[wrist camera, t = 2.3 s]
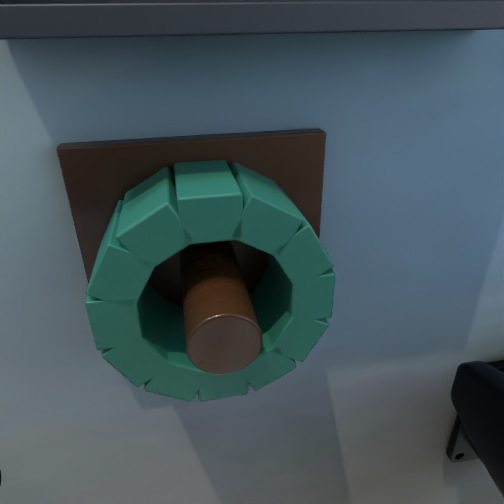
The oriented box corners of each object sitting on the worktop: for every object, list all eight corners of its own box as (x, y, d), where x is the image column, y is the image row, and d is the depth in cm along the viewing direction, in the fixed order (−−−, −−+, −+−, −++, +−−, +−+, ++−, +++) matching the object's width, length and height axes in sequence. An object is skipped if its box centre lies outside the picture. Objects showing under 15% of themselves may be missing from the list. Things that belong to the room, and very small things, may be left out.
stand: (308, 325, 16) (361, 430, 12) (109, 352, 15) (87, 480, 11) (320, 127, 13) (401, 175, 8) (60, 143, 12) (-2, 207, 7)
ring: (298, 324, 15) (326, 382, 13) (121, 348, 14) (112, 417, 12) (306, 153, 12) (344, 184, 10) (83, 168, 11) (60, 207, 9)
